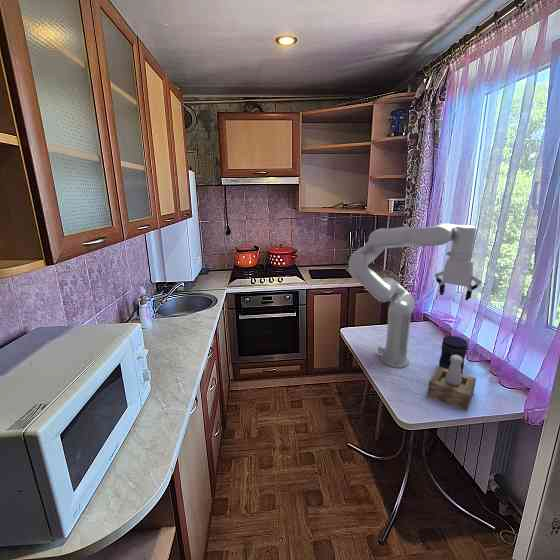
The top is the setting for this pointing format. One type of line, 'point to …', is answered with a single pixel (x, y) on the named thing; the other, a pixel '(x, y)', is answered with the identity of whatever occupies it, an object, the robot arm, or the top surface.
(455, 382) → the salt shaker
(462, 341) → the storage jar
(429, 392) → the walnut open box
